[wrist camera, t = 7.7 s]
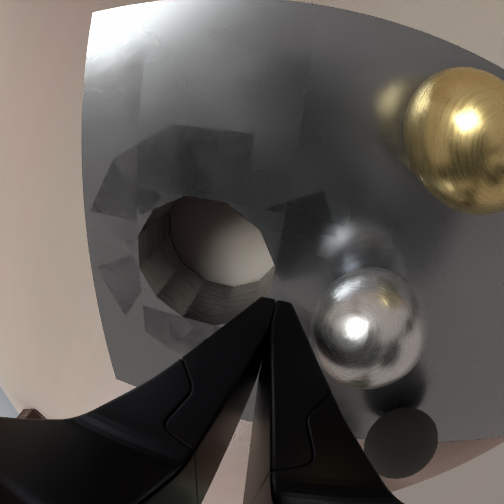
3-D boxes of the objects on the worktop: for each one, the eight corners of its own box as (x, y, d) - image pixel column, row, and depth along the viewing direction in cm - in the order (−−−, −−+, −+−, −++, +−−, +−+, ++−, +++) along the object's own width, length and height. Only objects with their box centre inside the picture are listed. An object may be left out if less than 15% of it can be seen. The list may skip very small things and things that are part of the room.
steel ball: (296, 255, 7) (345, 269, 10) (277, 384, 7) (330, 364, 10) (430, 265, 5) (440, 276, 8) (402, 418, 5) (422, 382, 8)
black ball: (444, 394, 10) (458, 456, 8) (411, 432, 12) (416, 487, 9) (381, 389, 11) (386, 458, 8) (353, 428, 12) (351, 488, 9)
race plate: (615, 175, 6) (644, 192, 4) (494, 407, 14) (503, 436, 11) (133, 23, 9) (92, 12, 6) (136, 347, 16) (116, 378, 14)
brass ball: (502, 98, 5) (575, 108, 3) (476, 204, 7) (536, 257, 4) (399, 55, 6) (448, 30, 3) (377, 173, 7) (410, 216, 5)
